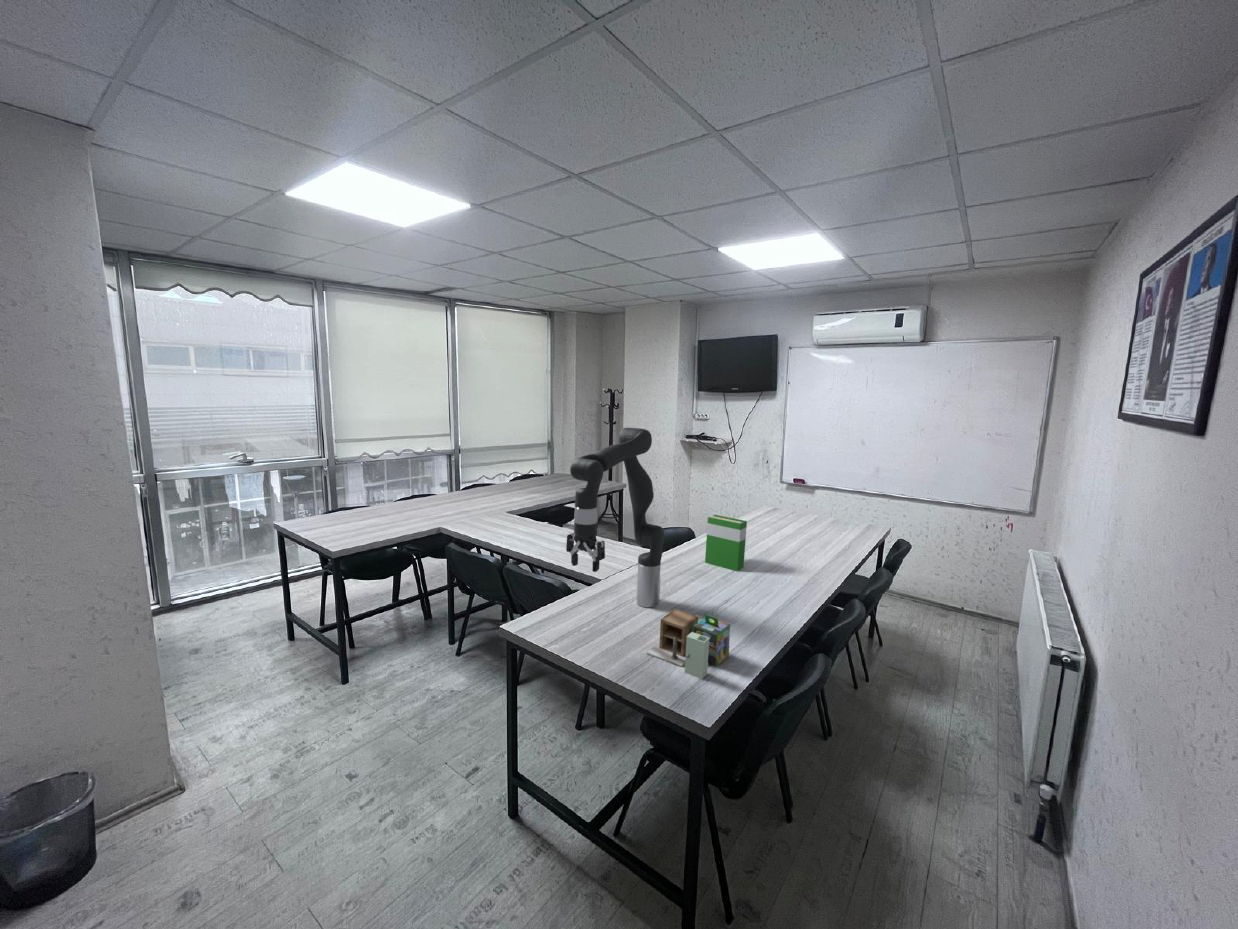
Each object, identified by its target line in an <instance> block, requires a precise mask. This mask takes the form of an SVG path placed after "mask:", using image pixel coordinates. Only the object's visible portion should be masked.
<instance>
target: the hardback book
mask: <svg viewBox="0 0 1238 929" xmlns="http://www.w3.org/2000/svg"><path fill="white" fill-rule="evenodd" d="M747 525H748V520H742V519H738V518H733V517H728V516H723V515H720V514H719V515H717V514H713V516H712V517H711V516H708V517H707V526H706V543H705V558H704V559H705V560H704V563H705V564H708V565H712V566H715V567H719V568H723V569H727V570H731V571H734V572H739V571H740V570H742V569H743V568H744V566H745V554H746V541H747V540H746V538H747Z"/></svg>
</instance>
